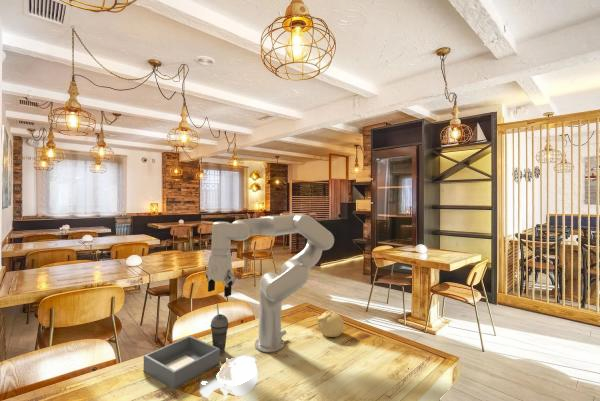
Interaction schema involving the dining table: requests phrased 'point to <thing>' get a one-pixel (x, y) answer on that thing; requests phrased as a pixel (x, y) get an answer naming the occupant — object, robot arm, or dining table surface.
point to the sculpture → (330, 324)
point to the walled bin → (181, 361)
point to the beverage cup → (219, 331)
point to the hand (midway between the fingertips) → (219, 293)
